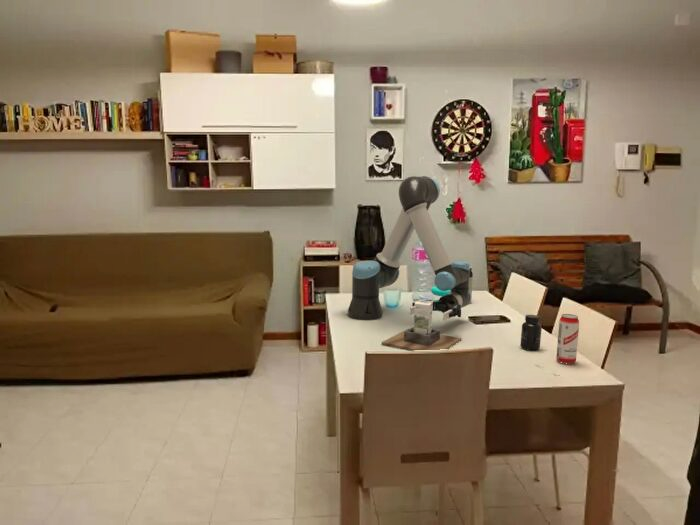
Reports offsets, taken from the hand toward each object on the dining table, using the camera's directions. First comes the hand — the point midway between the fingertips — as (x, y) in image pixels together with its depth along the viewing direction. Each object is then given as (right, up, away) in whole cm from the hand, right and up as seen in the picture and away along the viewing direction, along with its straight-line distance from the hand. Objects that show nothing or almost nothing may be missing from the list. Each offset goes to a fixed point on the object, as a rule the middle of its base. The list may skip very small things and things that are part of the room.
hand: (427, 314), depth 207 cm
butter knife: (+32, -15, -22) cm, 42 cm away
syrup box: (-2, -10, -1) cm, 10 cm away
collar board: (-2, -11, -1) cm, 11 cm away
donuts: (+14, -2, +52) cm, 53 cm away
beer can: (+44, -15, -19) cm, 50 cm away
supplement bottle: (+37, -12, -5) cm, 39 cm away
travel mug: (+26, -1, +64) cm, 69 cm away
